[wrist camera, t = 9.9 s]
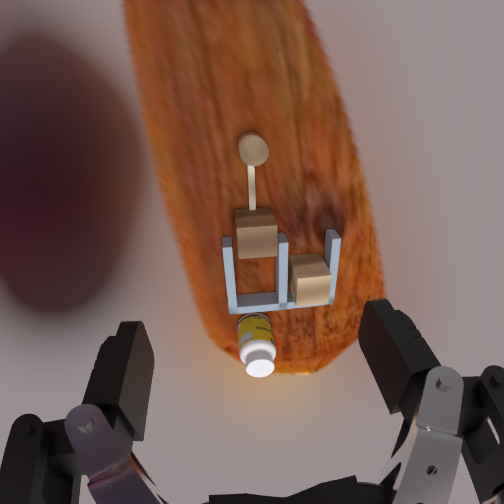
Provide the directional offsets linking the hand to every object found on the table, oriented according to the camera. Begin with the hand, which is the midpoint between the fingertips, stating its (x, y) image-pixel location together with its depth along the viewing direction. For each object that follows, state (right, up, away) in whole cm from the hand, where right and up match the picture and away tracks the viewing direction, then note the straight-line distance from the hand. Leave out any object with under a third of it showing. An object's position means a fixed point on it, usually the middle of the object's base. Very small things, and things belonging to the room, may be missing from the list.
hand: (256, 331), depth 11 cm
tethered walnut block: (0, +11, +28) cm, 30 cm away
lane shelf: (+4, +1, +34) cm, 35 cm away
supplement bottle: (0, -9, +40) cm, 41 cm away
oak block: (+7, 0, +35) cm, 36 cm away
